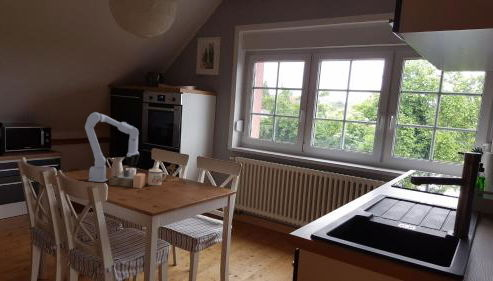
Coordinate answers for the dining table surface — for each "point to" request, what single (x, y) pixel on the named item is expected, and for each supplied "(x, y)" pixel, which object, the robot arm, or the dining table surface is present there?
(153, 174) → the teacup with lid
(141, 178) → the tan square block
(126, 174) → the slide bar
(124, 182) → the guide channel
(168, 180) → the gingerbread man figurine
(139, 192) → the dining table surface
